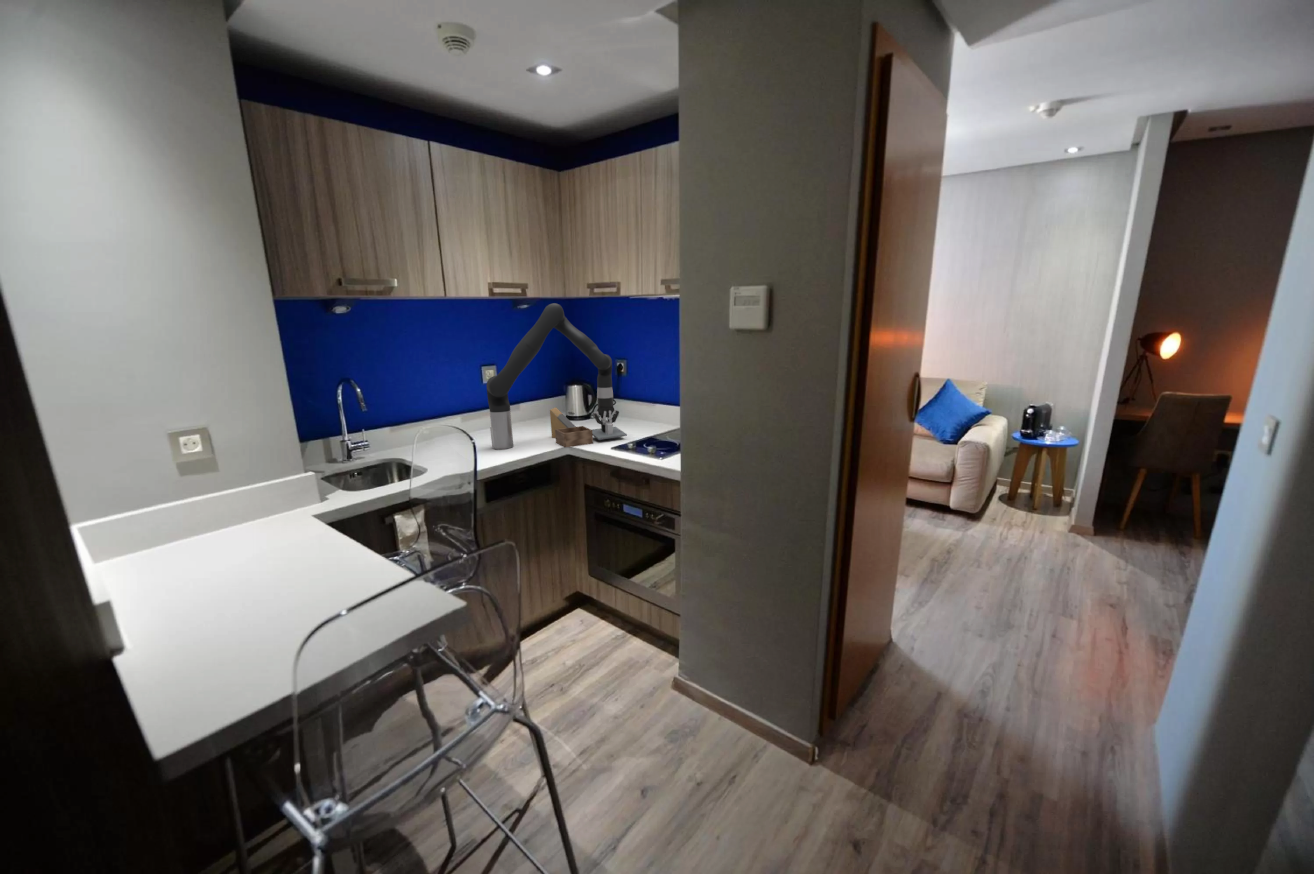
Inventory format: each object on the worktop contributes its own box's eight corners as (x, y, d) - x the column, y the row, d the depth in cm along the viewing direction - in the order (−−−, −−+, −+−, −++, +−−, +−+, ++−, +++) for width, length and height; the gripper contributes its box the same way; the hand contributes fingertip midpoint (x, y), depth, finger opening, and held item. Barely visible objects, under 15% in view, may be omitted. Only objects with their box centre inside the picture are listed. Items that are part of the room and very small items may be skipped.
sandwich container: (581, 439, 258) (579, 409, 255) (551, 439, 261) (549, 409, 258) (586, 435, 267) (584, 406, 263) (557, 435, 269) (555, 406, 266)
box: (564, 448, 240) (563, 433, 239) (556, 443, 250) (555, 429, 249) (593, 444, 247) (592, 430, 245) (583, 439, 257) (582, 426, 255)
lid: (598, 441, 247) (598, 427, 245) (587, 433, 258) (587, 420, 256) (626, 437, 254) (627, 424, 252) (615, 429, 265) (615, 417, 263)
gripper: (594, 398, 245) (596, 434, 249) (621, 396, 252) (622, 431, 256) (588, 396, 252) (590, 432, 256) (615, 394, 258) (616, 428, 262)
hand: (606, 431), depth 256 cm, fingers closed on lid
